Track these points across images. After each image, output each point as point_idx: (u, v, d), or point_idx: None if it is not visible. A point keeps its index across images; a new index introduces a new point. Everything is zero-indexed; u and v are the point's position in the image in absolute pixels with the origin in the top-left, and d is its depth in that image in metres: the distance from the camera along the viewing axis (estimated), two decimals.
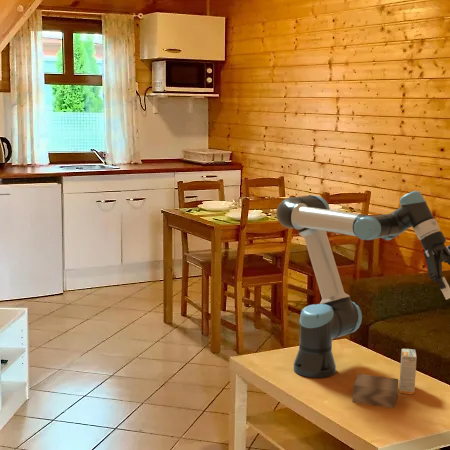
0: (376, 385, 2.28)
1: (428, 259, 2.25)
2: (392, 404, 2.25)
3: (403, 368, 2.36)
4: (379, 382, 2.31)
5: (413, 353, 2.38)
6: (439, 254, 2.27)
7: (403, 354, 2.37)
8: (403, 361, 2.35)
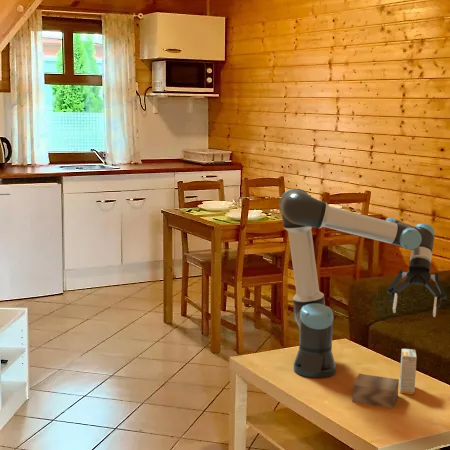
0: (376, 385, 2.28)
1: None
2: (392, 404, 2.25)
3: (403, 368, 2.36)
4: (379, 382, 2.31)
5: (413, 353, 2.38)
6: None
7: (403, 354, 2.37)
8: (403, 361, 2.35)
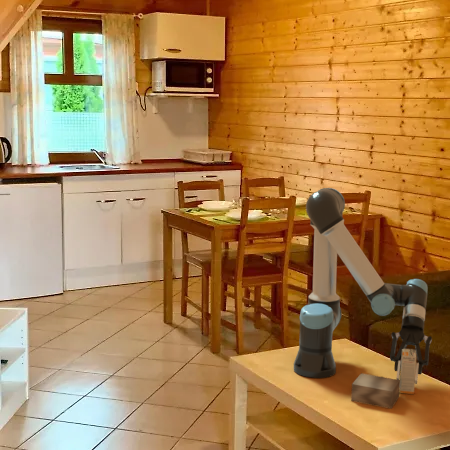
0: (375, 385, 2.28)
1: (429, 345, 2.42)
2: (390, 404, 2.25)
3: (403, 368, 2.36)
4: (379, 382, 2.31)
5: (413, 353, 2.38)
6: None
7: (403, 354, 2.37)
8: (403, 361, 2.36)
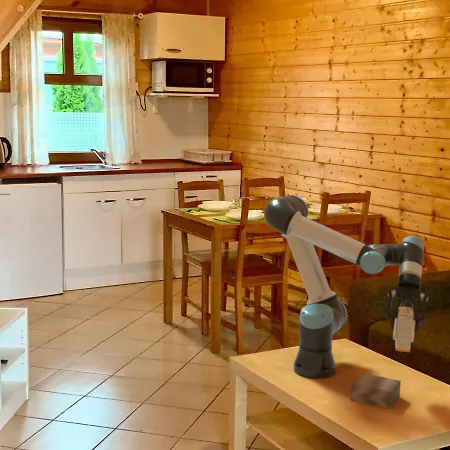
0: (374, 385, 2.28)
1: None
2: (388, 405, 2.25)
3: (399, 325, 2.31)
4: (379, 382, 2.31)
5: (410, 310, 2.33)
6: None
7: (400, 311, 2.32)
8: (399, 318, 2.30)
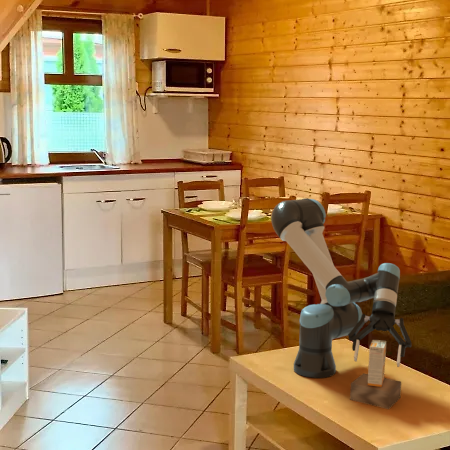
0: None
1: None
2: (387, 405, 2.24)
3: (370, 359, 2.27)
4: None
5: (382, 344, 2.28)
6: None
7: (371, 345, 2.28)
8: (370, 352, 2.27)
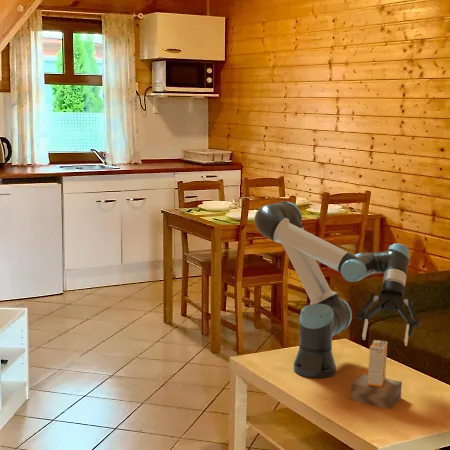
0: (374, 386, 2.28)
1: (412, 307, 2.37)
2: (387, 405, 2.24)
3: (370, 359, 2.27)
4: None
5: (382, 345, 2.28)
6: None
7: (371, 345, 2.28)
8: (370, 352, 2.27)
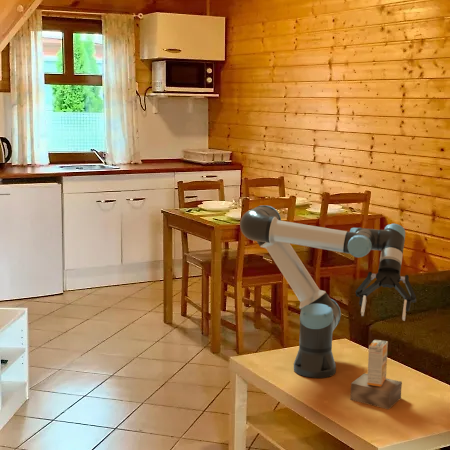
0: None
1: None
2: (387, 405, 2.24)
3: (369, 359, 2.27)
4: None
5: (382, 344, 2.28)
6: None
7: (371, 344, 2.28)
8: (369, 351, 2.27)
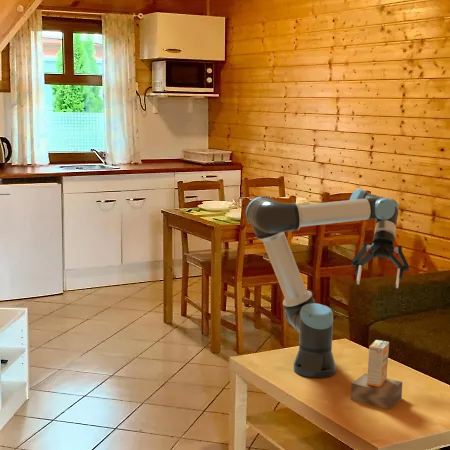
0: (374, 386, 2.28)
1: None
2: (387, 405, 2.24)
3: (369, 359, 2.27)
4: None
5: (383, 345, 2.28)
6: None
7: (371, 345, 2.28)
8: (370, 352, 2.27)
